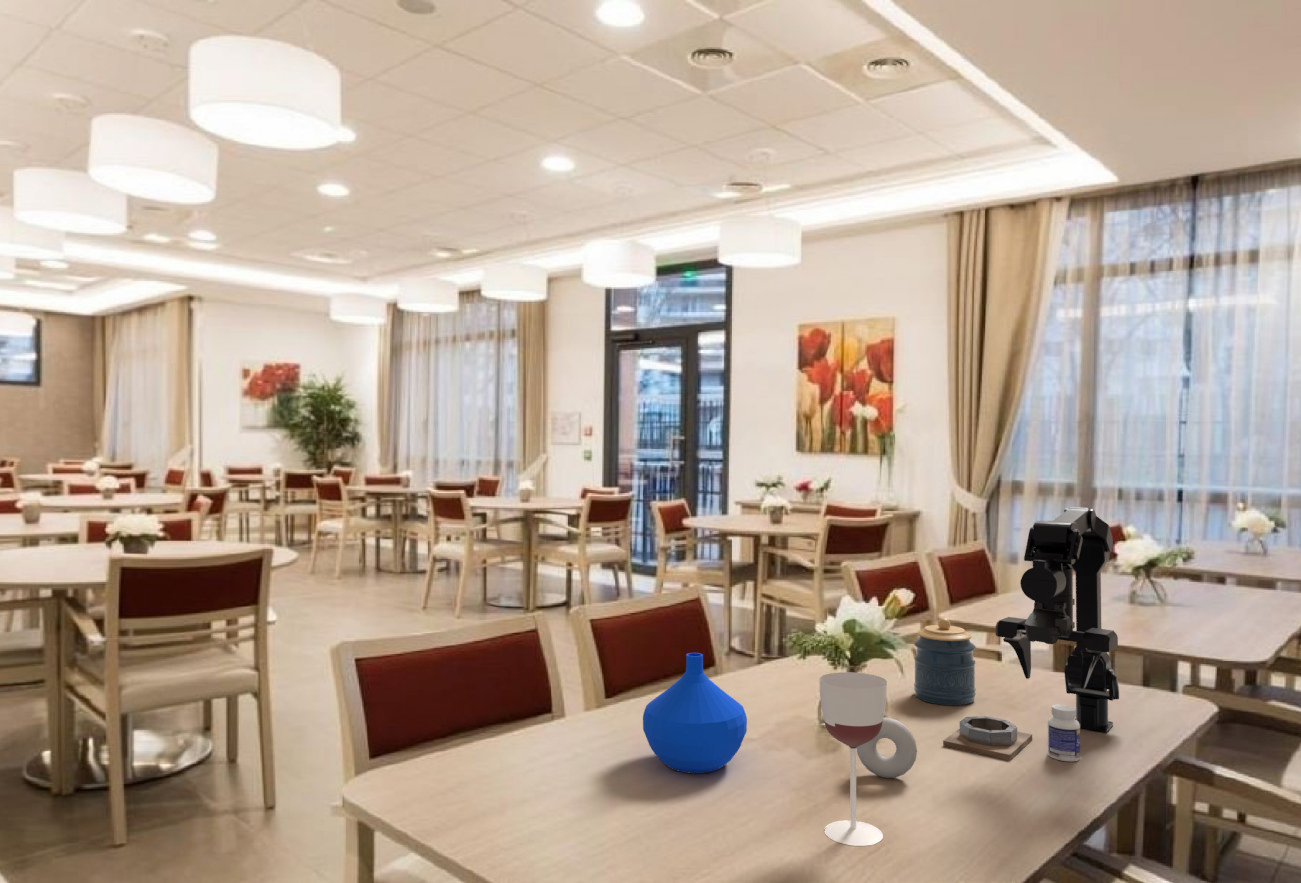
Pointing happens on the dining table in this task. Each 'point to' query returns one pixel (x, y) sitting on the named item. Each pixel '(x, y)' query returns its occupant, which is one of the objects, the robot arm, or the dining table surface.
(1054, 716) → the pill bottle
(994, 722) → the ring collar
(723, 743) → the vase
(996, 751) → the tan board
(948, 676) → the canister
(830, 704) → the wineglass
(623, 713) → the dining table surface
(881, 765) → the donut
